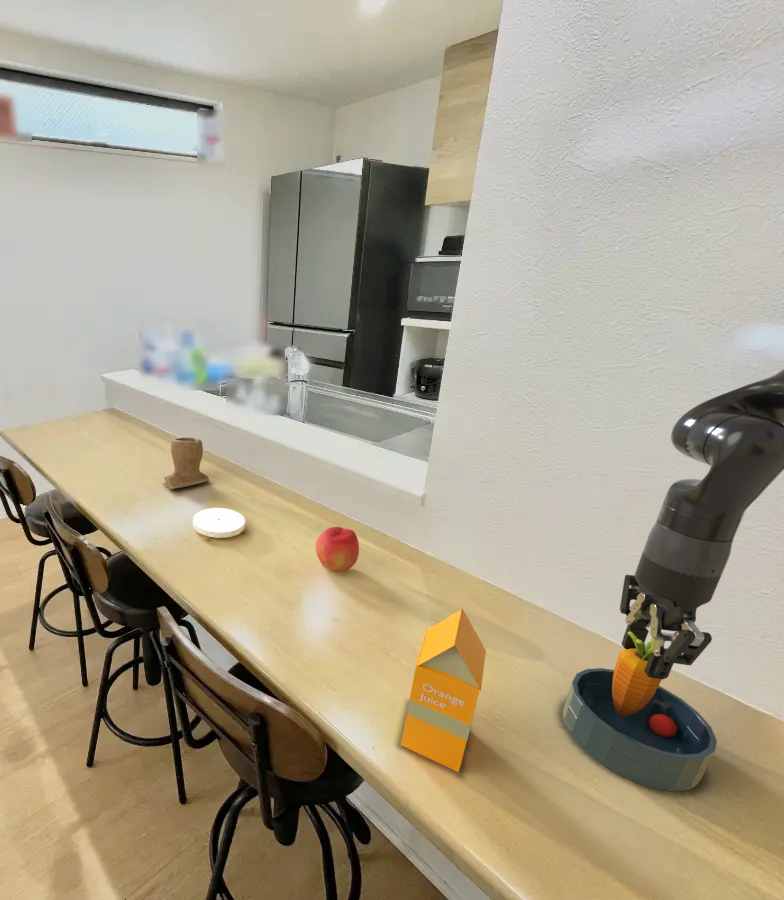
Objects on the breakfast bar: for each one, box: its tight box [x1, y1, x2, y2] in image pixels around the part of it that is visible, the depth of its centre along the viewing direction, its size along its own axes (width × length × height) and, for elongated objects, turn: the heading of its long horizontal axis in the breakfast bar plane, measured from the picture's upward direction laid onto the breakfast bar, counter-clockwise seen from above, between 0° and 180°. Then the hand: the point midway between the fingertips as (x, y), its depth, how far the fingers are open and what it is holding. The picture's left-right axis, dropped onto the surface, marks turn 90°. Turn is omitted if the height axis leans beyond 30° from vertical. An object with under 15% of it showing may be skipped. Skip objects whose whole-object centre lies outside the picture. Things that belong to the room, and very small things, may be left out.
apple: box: [315, 526, 360, 573], centre depth 112 cm, size 10×10×10 cm
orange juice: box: [400, 608, 487, 773], centre depth 69 cm, size 8×9×20 cm
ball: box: [649, 714, 677, 738], centre depth 72 cm, size 3×3×3 cm
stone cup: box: [163, 436, 210, 490], centre depth 159 cm, size 15×12×15 cm
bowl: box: [562, 667, 718, 792], centre depth 71 cm, size 15×15×6 cm
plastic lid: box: [192, 507, 246, 539], centre depth 132 cm, size 14×14×2 cm
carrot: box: [612, 632, 663, 718], centre depth 71 cm, size 5×5×15 cm
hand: (642, 661), depth 70 cm, fingers closed on carrot, 5 cm apart
